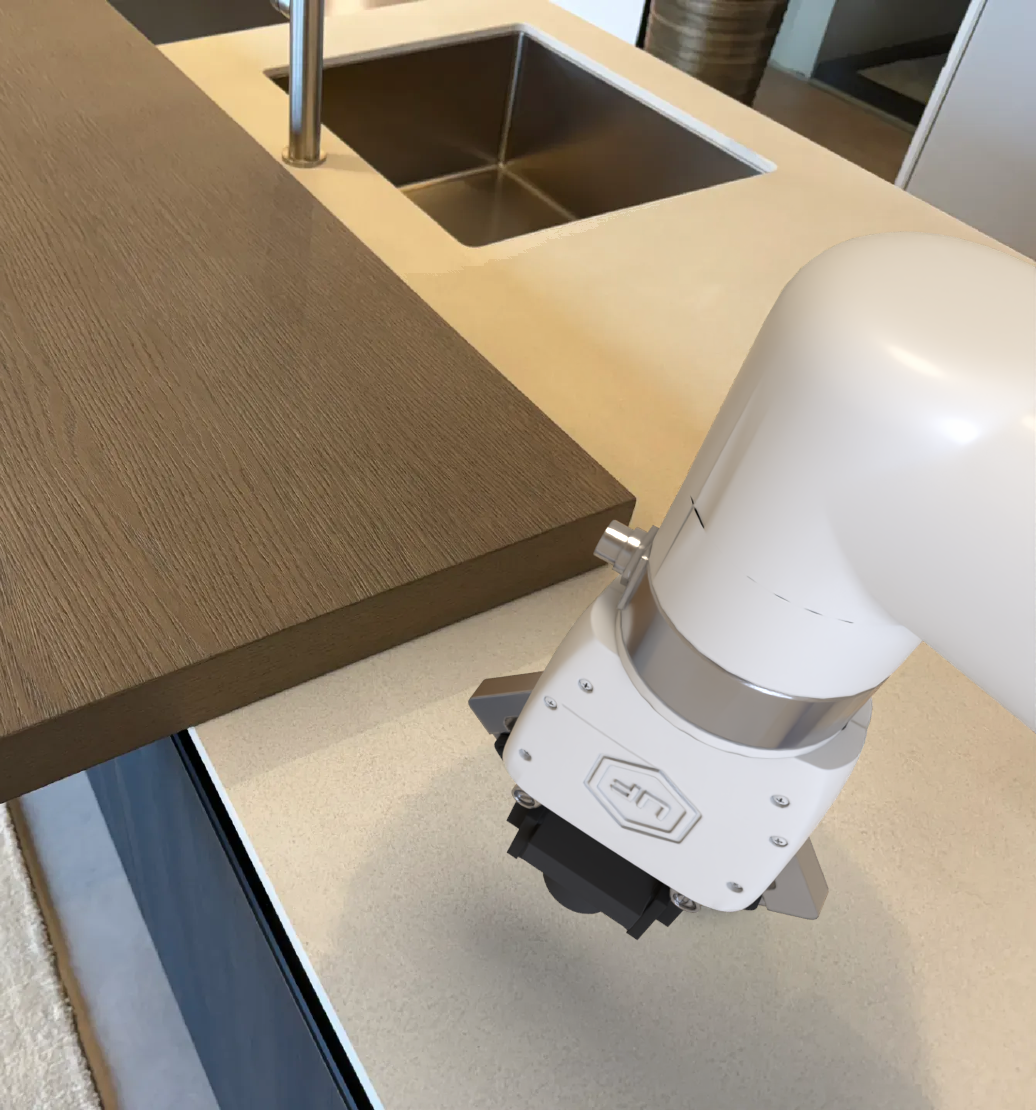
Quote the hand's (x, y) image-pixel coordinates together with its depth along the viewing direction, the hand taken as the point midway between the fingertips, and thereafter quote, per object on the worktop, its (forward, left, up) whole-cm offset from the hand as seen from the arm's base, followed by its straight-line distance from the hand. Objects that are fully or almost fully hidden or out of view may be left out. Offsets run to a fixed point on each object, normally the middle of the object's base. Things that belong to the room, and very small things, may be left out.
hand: (586, 868), depth 46 cm
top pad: (0, 0, -1) cm, 1 cm away
